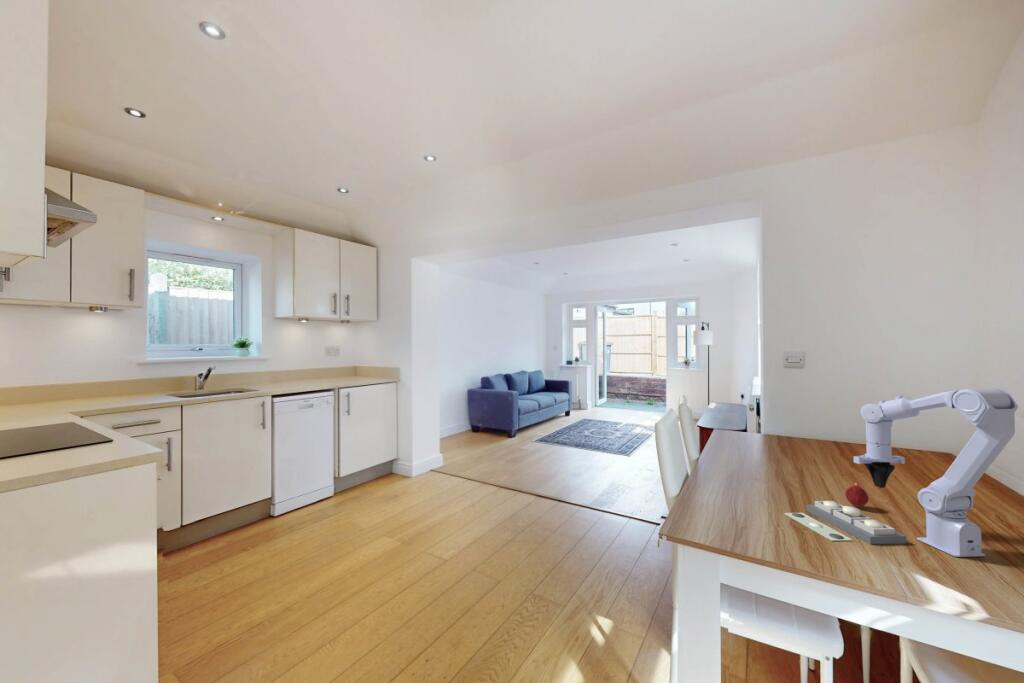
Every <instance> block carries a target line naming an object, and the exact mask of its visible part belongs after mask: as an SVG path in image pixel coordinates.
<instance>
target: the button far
mask: <svg viewBox="0 0 1024 683" xmlns="http://www.w3.org/2000/svg"><path fill="white" fill-rule="evenodd" d="M822 501H823V503H824V505H825V506H827V507H829V508H840V505H841V503H839V502H836V501H834V500H822ZM833 501H834V502H833Z"/></svg>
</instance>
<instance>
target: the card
mask: <svg viewBox="0 0 1024 683" xmlns="http://www.w3.org/2000/svg"><path fill="white" fill-rule="evenodd" d="M783 514H784V515H786V516H787V517H789V518H791V519H792V520H794V521H796V522H798V523H799V524H800V525H803V526H805V527H806V528H808V529H810V530H812V531H813V532H815V533H817V534H819V535H821V536H822V537H824V538H826V539H827V540H829V541H831V542H853V541H854V539H852V538H850V537H848V536H847V535H845V534H843V533H841V532H839V531H837V530H836V529H834V528H832V527H831V526H828V525H826V524H825V523H823V522H822V521H821V522H820V521H819V520H817V519H815V518H813V517H811V516H810V515H807V514H806V513H803V512H784V513H783Z"/></svg>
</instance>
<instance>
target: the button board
mask: <svg viewBox="0 0 1024 683" xmlns="http://www.w3.org/2000/svg"><path fill="white" fill-rule="evenodd" d="M823 501H824V500H814V504H806V512H807V513H810V514H812V515H814V516H816V517H817V518H819V519H822V520H823V521H825V522H826V523H828V524H831V525H833V526H834V527H837V528H839V529H841V530H842V531H844V532H846V533H848V534H850V535H852V536H853V537H856V538H857V539H859V540H861V541H863V542H866V543H867V544H870V545H893V544H894V545H896V544H897V545H898V544H902V545H903V544H907V535H904V534H903V533H900V532H897V531H896V529H895V528H894V527H891V526H890V525H887V524H885V523H883V524H884V528H876V529H874V528H872V527H870V526H867V525H865V524H864V520H866V519H868V520H872V519H871V517H869V516H867V515H864V514H863V513H860V517H850V516H847V515H845V514H843V506H844V505H842V504H840V508H829V507H827V506H825V505H824V503H823ZM832 501H833V502H835V501H834V500H832ZM874 520H875V521H877V520H876V519H874Z"/></svg>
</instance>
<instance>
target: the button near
mask: <svg viewBox="0 0 1024 683" xmlns="http://www.w3.org/2000/svg"><path fill="white" fill-rule="evenodd" d="M875 520H876V519H871V520H868V519H866V520H864V524H865V525H867V526H870V527H872V528H874V529H876V528H884V524H885V523H883V522H880V521H878V520H876V521H875Z"/></svg>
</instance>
